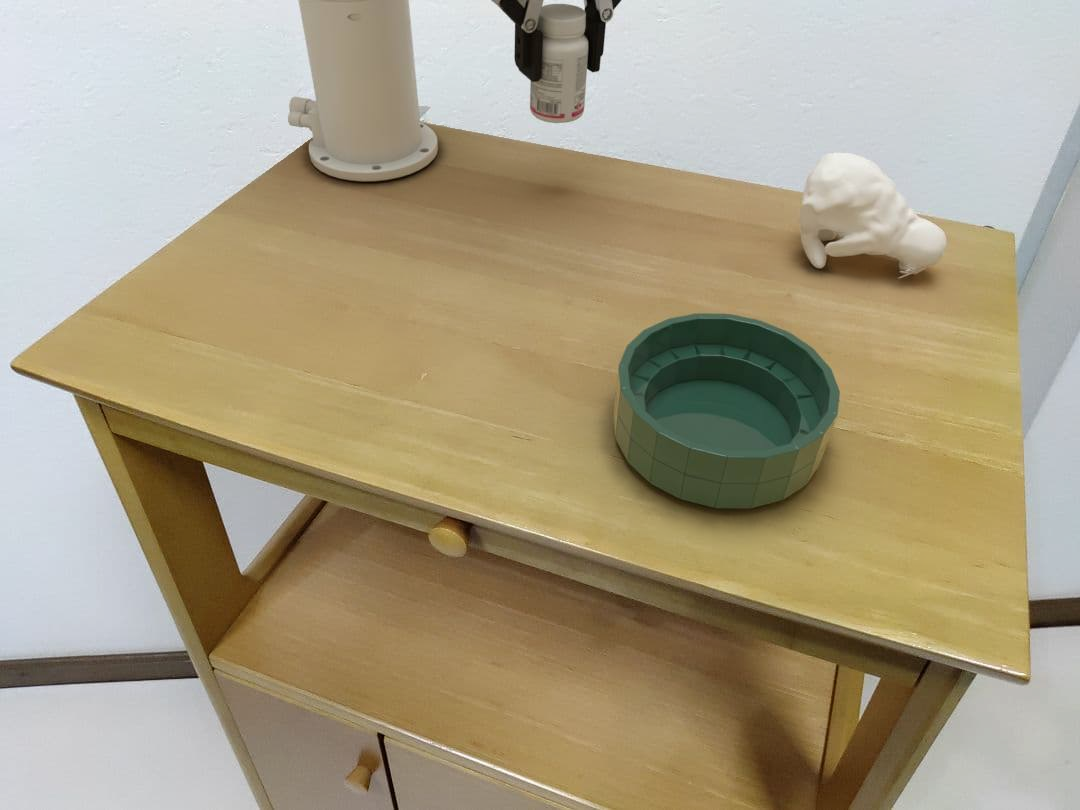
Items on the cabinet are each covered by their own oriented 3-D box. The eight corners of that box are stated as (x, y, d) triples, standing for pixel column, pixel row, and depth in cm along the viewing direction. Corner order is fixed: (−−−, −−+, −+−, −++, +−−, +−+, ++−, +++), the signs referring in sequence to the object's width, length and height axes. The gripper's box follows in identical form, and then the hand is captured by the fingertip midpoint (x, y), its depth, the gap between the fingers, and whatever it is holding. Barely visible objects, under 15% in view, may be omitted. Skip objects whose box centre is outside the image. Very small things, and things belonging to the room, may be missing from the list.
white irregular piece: (825, 132, 66) (978, 176, 64) (792, 222, 72) (930, 266, 70) (809, 165, 62) (971, 214, 59) (775, 258, 68) (921, 306, 65)
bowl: (589, 483, 50) (593, 425, 47) (639, 353, 60) (646, 297, 56) (809, 539, 47) (831, 481, 44) (826, 393, 57) (845, 336, 53)
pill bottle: (568, 97, 74) (574, -2, 68) (593, 119, 71) (602, 17, 65) (520, 105, 73) (522, 5, 67) (543, 128, 70) (548, 24, 64)
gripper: (648, -205, 62) (622, 42, 75) (437, -198, 56) (448, 68, 69) (704, -188, 57) (667, 73, 70) (481, -178, 52) (484, 104, 64)
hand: (558, 68), depth 69 cm, fingers closed on pill bottle, 4 cm apart
